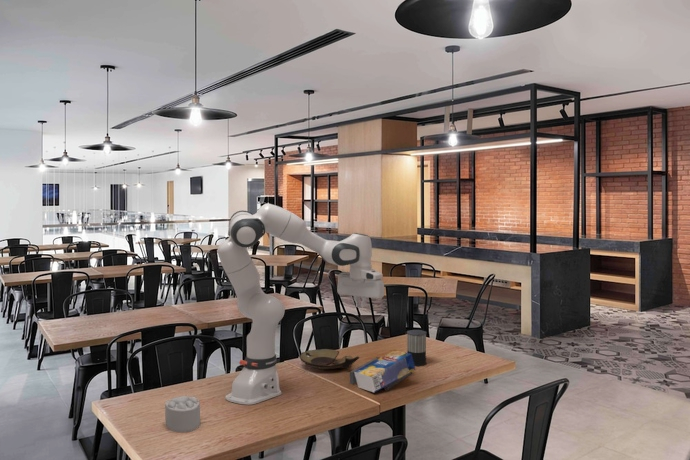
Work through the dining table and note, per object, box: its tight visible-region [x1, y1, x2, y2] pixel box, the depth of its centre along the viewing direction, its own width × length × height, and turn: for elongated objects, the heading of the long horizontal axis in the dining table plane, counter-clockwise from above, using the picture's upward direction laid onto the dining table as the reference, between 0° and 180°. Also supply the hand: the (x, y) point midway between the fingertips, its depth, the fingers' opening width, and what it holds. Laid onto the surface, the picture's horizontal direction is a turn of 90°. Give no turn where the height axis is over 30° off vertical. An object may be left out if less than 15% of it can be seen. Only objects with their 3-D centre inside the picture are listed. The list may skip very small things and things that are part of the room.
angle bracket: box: [349, 356, 413, 391], centre depth 230 cm, size 25×17×5 cm
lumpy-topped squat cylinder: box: [164, 395, 201, 433], centre depth 182 cm, size 10×13×9 cm
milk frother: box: [406, 329, 427, 367], centre depth 252 cm, size 14×16×15 cm
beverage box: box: [354, 349, 416, 393], centre depth 220 cm, size 7×11×22 cm
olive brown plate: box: [299, 348, 360, 370], centre depth 245 cm, size 22×30×8 cm
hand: (360, 307), depth 220 cm, fingers closed
